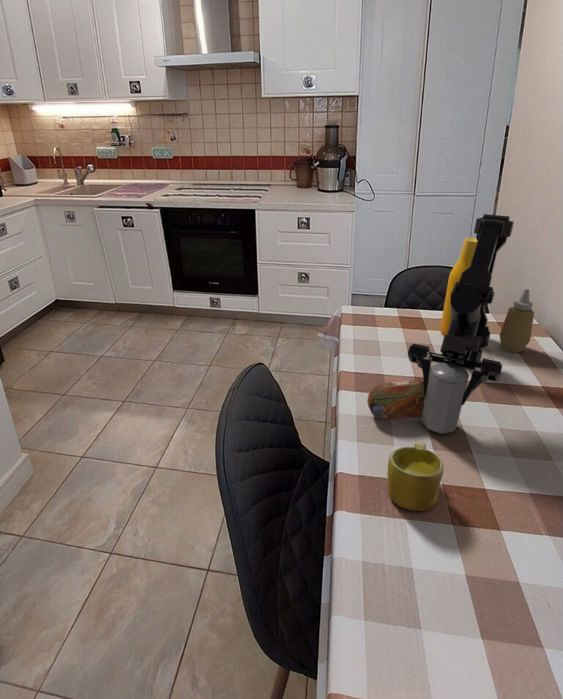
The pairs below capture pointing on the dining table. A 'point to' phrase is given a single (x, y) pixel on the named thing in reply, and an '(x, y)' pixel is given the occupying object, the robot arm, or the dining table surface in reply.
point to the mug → (414, 477)
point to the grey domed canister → (444, 397)
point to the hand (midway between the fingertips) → (443, 399)
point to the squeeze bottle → (518, 324)
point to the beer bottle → (457, 279)
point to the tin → (397, 399)
